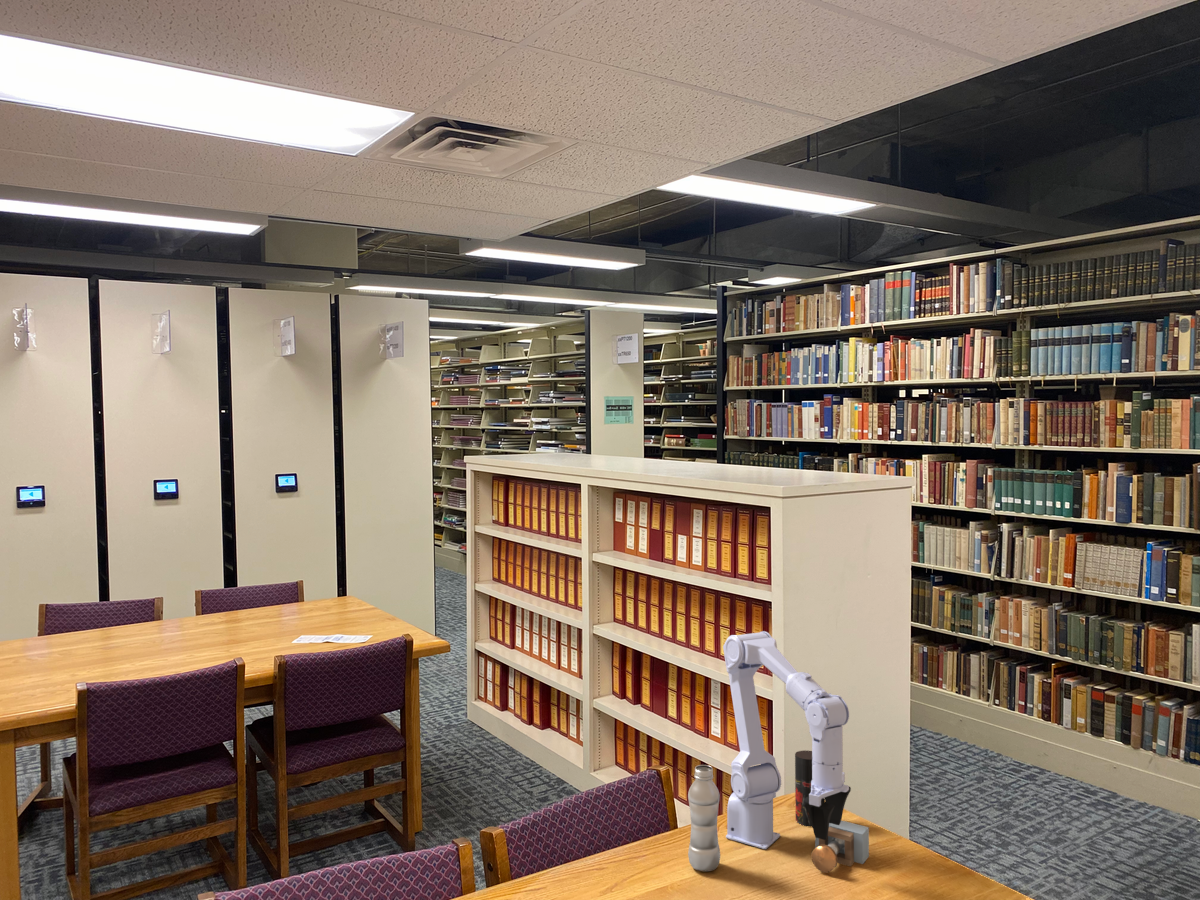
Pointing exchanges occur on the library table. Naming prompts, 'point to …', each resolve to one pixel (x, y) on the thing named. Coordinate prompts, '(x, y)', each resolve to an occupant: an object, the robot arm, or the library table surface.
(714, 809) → the plastic bottle
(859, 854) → the bearing block
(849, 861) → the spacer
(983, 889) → the library table surface
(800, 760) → the deodorant
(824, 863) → the shaft
